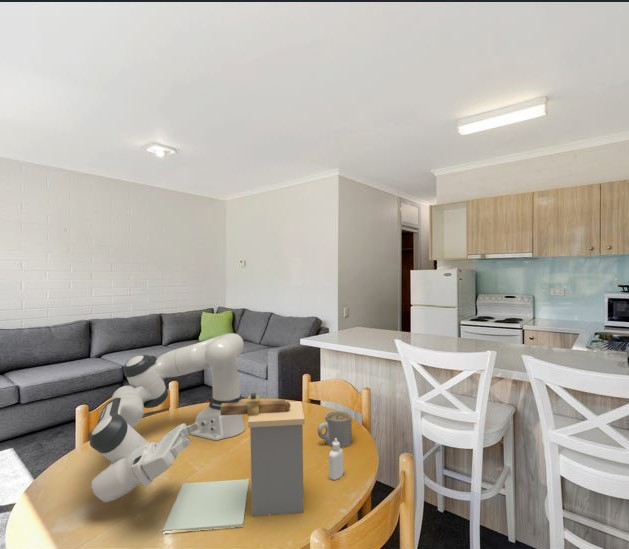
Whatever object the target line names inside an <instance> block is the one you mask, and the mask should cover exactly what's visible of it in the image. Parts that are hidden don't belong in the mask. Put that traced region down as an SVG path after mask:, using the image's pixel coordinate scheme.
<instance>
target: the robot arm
mask: <svg viewBox="0 0 629 549" xmlns="http://www.w3.org/2000/svg"><path fill="white" fill-rule="evenodd" d="M243 350H244V340H243V338H242V336H240V334H238V333H233V332H232V333H225V334H221V335H219V336H215V337H212V338H208V339H206V340H203V341H200V342H196V343H194V344H190V345H189V344H188V345H187V346H183V347H179V348H175V349H173V350H170V351H168V352H165V353H163V354H161V355H159V356H158V357H156V356H155V355H148V354H138V355H136V356H133V357H131V358H130V359H129V360H127V361H126V362H125V364H124V365H123V374H124V376H125V377H126V379H127V381H128V383H129V385H123V386H121V387H118V388H117V389H116V390H115V391H114V392H113V394H112V396H111V399H110V400H109V401H108V402H107V403H106V404H104V406H103V408H102V410H101V412H100V414H99V416H98V420H97V423H96V424H95V426H94V428H93V429H92V431H91V432H90V436H89V445H90V447H91V448H92V449H93V450H95V451H97V452H98V453H100V454H101V455H103V456H104V457H105V458H106V459H107V460H108V461H109V462H110V464H109V466H108V467H107V468H105V469H104V470H102V471H101V472H100V473H98V475H96V476H95V477H94V478H93V479H92V481H91V490H92V492H93V495H94V496H95V497H96V498H97V499H98V500H100V501H101V502H103V503H109V502H112V501H116V500H117V499H119V498H121V497H123V496H125V495H127V494H128V493H130V492H132V491H133V490H134V489H136V487H138V485H140V484H141V485H142V486H143V487H144V488H146V487H148V486H149V485H150V484H151V483H152V482H154V480H155V479H157V478H158V477H159V476H161V475H162V474H163V473H165V472H167V470H168V469H170V468H171V467H172V466H173V465H174V463H175V460H176V458H177V456H178V455H180V453H182V452H183V451H184V450H185V449H186V448H188V447H189V446H190V445H191V443H192V440H191V439H190V437H189V435H193V436H197V437H200V438H203V439H204V438H205V439H209V440H213V441H220V440H222V439H223V440H224V439H226V438H231V437H234V436H235V437H236V436H238V435H240V434H242V433H243V432H244V431H245V430H246V427H245V423H244V420H243V414H240V415H221V404H222V403H238V402H242V394H241V375H240V373H239V372H238V367H237V366H238V365H237V359H238V357H239V356H240V355H241V354H242V352H243ZM208 368H209V369H210V370H209V371H210V374H211V381H212V383H211V384H212V396H210V397H209V398H208V399H207V400H206V403H207V404H208V403H209V404H208V405H207V406H206V407H205V408H203V409H202V410H201V411H200V412H199V413H198V414H197V415H196V416H195V420H194V423H192V424H190V425H189V424H188V425H186V423H180V424H179V425H177V426H176V427H174V428H173V429H172V430H170V431H169V432H167V433H166V434H164V435H163V436H162V437H161V438H160V439H159V442H153V441H147V439H145V438H144V437H143V436H142V435H141V434H140V433H139V432H138V431H137V430H135V429H134V427H135V426H137V424H139V423H140V422H141V420H142V419H143V417H144V414H145V408H146V409H152V408H156V407H159V406H160V405H162V404H163V403H164V402H165V401H166V400H167V399H168V396H169V389H168V387H167V385H166V383H165V381H164V379H166V378H174V377H175V378H176V377H180V376H185V375H188V374H192V373H195V372H199V371H203V370H205V369H208Z"/></svg>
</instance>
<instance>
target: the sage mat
mask: <svg viewBox="0 0 629 549" xmlns="http://www.w3.org/2000/svg"><path fill="white" fill-rule="evenodd" d="M249 485H250V479H249V478H246V479H231V480H229V479H228V480H219V481H218V480H216V481H204V482H203V481H200V482H189V483H187V482H186V483H182V485H181V487H180V489H179V491H178V494H177V496H176V499H175V502H173V506H172V508H171V511H170V512H169V515H168V517H167V520H166V522H165V524H164V526H163V528H162V533H163V532H165V531H172V530H199V529H200V530H201V529H211V528H212V529H214V528H231V527H241V526H243V527H244V524H243V522H245V516H246V509H245V508H246V507H247V501H248V494H247V493H249ZM244 515H245V516H244Z"/></svg>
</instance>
